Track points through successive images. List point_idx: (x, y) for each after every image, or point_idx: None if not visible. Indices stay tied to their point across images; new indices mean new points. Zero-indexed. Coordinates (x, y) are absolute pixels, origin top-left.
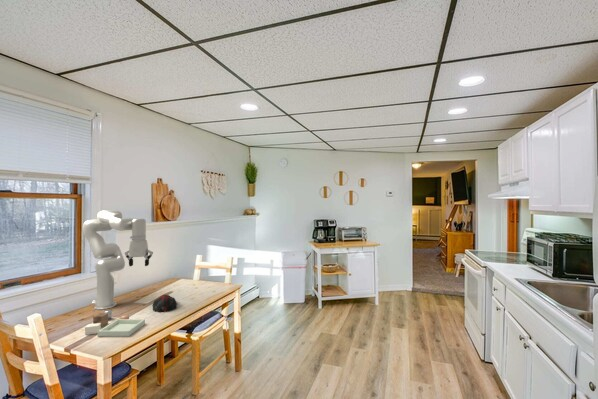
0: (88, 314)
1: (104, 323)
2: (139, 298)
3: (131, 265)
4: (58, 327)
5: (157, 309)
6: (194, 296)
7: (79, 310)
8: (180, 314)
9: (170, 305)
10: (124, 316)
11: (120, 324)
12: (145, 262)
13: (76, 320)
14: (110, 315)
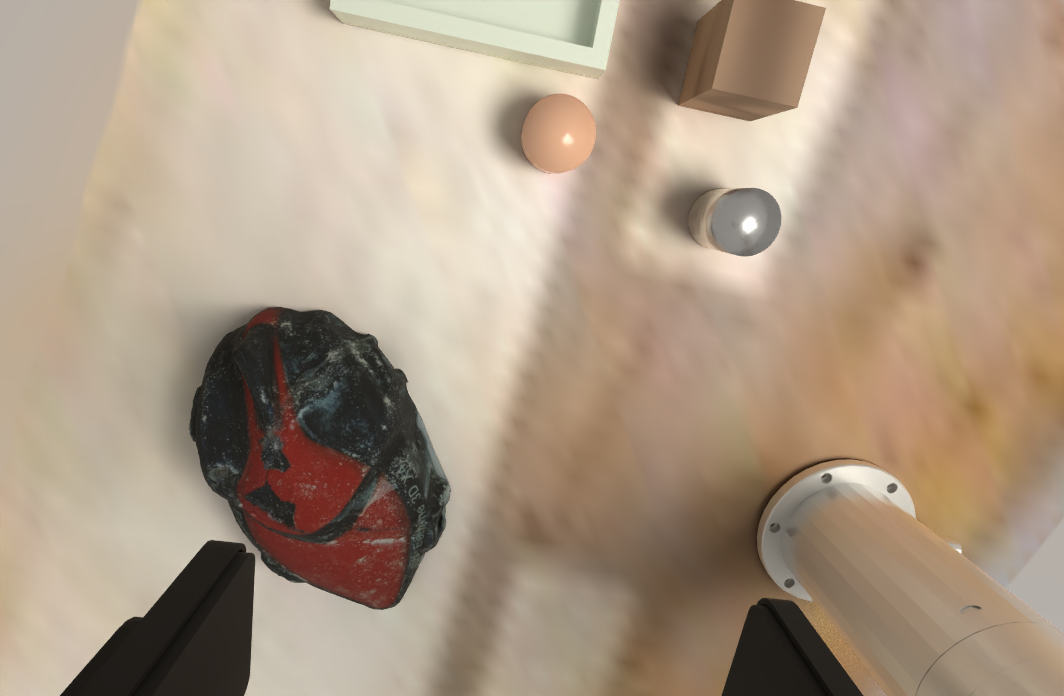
0: (904, 367)
1: (697, 49)
2: (625, 679)
3: (742, 656)
4: (1041, 100)
5: (339, 329)
6: None
7: (997, 470)
8: (95, 219)
9: (217, 359)
10: (559, 126)
11: (554, 26)
12: (151, 640)
13: (953, 241)
14: (704, 209)
